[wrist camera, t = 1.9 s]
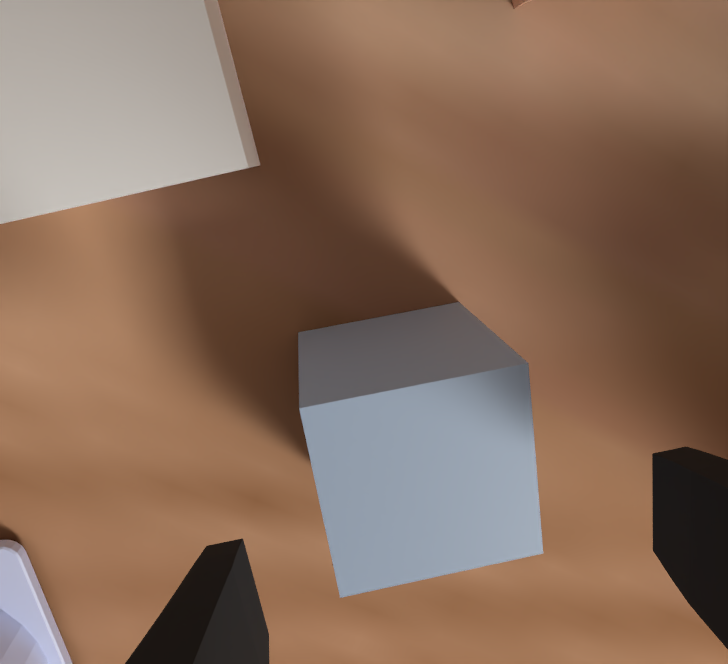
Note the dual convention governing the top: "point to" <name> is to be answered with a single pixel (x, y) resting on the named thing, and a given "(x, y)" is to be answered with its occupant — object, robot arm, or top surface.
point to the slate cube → (419, 446)
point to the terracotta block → (519, 2)
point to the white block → (114, 101)
